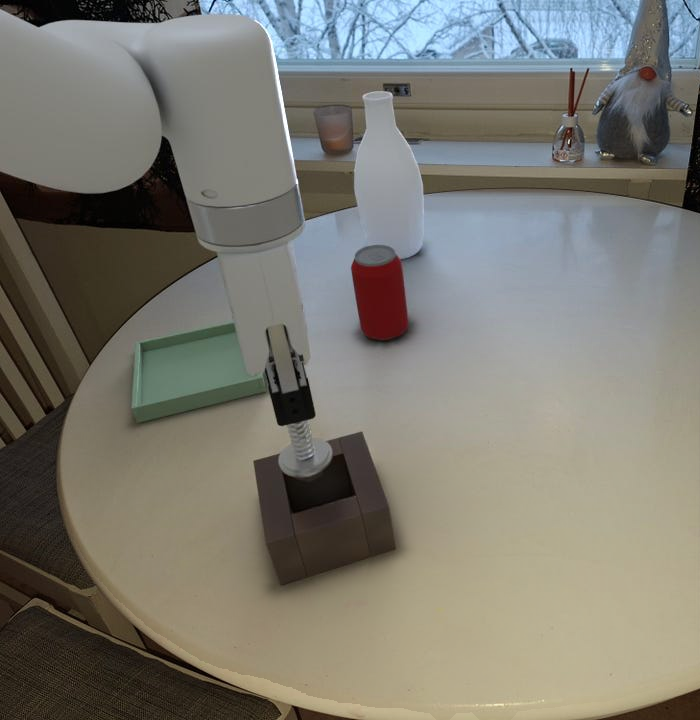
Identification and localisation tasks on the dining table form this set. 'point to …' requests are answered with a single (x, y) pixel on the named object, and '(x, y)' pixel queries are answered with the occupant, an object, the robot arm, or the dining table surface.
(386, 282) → the beverage can
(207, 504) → the dining table surface
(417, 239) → the bottle
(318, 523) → the holder
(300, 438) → the screw
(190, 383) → the tray
